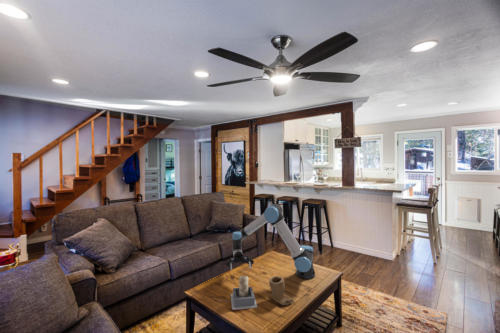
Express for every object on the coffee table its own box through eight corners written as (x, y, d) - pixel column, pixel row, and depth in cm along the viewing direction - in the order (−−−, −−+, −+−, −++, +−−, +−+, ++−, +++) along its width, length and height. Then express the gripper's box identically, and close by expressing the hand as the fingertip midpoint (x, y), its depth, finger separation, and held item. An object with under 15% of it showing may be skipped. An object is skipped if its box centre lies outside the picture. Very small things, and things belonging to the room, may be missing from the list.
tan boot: (265, 298, 162) (265, 276, 161) (278, 292, 169) (278, 271, 168) (281, 310, 150) (281, 286, 149) (294, 303, 157) (294, 280, 156)
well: (253, 293, 168) (253, 285, 168) (257, 307, 152) (257, 299, 152) (230, 295, 166) (230, 287, 165) (232, 309, 150) (232, 301, 150)
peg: (247, 297, 162) (247, 275, 162) (248, 302, 157) (248, 279, 156) (238, 297, 162) (238, 275, 161) (239, 303, 156) (239, 280, 155)
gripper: (253, 259, 192) (258, 271, 171) (222, 261, 188) (223, 274, 167) (253, 250, 192) (258, 261, 171) (222, 252, 188) (223, 264, 167)
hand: (241, 268), depth 169 cm, fingers open, 13 cm apart
